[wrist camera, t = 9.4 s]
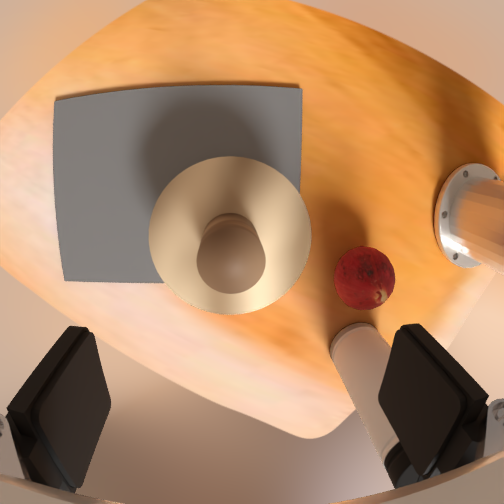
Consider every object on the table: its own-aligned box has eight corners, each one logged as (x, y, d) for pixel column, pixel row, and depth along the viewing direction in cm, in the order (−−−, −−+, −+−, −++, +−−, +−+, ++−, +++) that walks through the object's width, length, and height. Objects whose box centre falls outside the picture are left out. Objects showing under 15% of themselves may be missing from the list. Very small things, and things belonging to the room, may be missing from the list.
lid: (312, 159, 23) (338, 160, 18) (302, 307, 27) (321, 346, 21) (149, 157, 22) (124, 158, 17) (157, 308, 26) (141, 347, 20)
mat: (300, 90, 27) (302, 88, 27) (293, 280, 33) (294, 282, 32) (57, 102, 25) (54, 101, 25) (66, 279, 31) (64, 281, 30)
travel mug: (331, 374, 37) (392, 510, 17) (326, 329, 35) (403, 472, 15) (378, 359, 37) (457, 479, 18) (378, 315, 35) (478, 435, 16)
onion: (318, 249, 32) (345, 278, 24) (369, 230, 32) (408, 253, 24) (331, 299, 34) (358, 337, 26) (379, 279, 33) (415, 312, 26)
